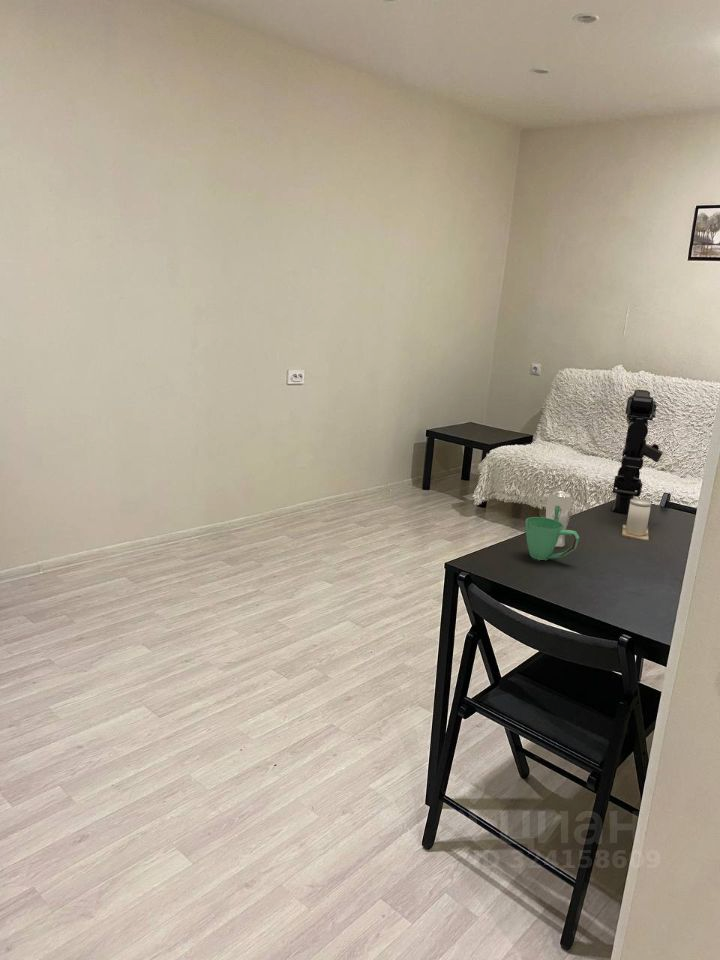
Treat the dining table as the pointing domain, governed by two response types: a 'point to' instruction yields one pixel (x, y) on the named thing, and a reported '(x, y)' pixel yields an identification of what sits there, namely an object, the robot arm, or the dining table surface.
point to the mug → (546, 537)
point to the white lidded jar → (638, 517)
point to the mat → (634, 535)
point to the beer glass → (559, 510)
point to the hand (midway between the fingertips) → (628, 483)
